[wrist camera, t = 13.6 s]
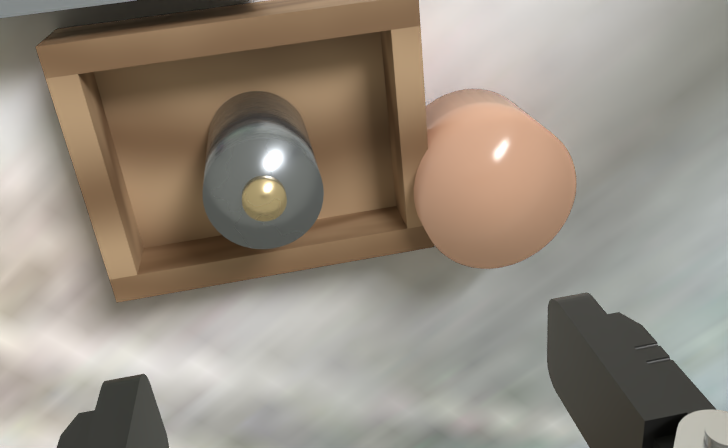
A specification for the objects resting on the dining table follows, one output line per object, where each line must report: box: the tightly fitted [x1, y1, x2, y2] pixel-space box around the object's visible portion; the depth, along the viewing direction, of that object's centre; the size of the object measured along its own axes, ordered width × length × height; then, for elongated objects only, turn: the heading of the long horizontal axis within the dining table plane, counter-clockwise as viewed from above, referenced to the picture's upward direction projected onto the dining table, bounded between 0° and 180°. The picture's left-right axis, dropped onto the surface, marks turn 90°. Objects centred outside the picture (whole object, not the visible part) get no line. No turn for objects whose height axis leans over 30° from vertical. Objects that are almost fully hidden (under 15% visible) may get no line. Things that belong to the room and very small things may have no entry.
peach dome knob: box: [414, 89, 576, 269], centre depth 32 cm, size 7×7×5 cm
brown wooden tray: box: [36, 0, 434, 302], centre depth 31 cm, size 11×15×4 cm
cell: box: [203, 91, 324, 249], centre depth 28 cm, size 4×4×7 cm
